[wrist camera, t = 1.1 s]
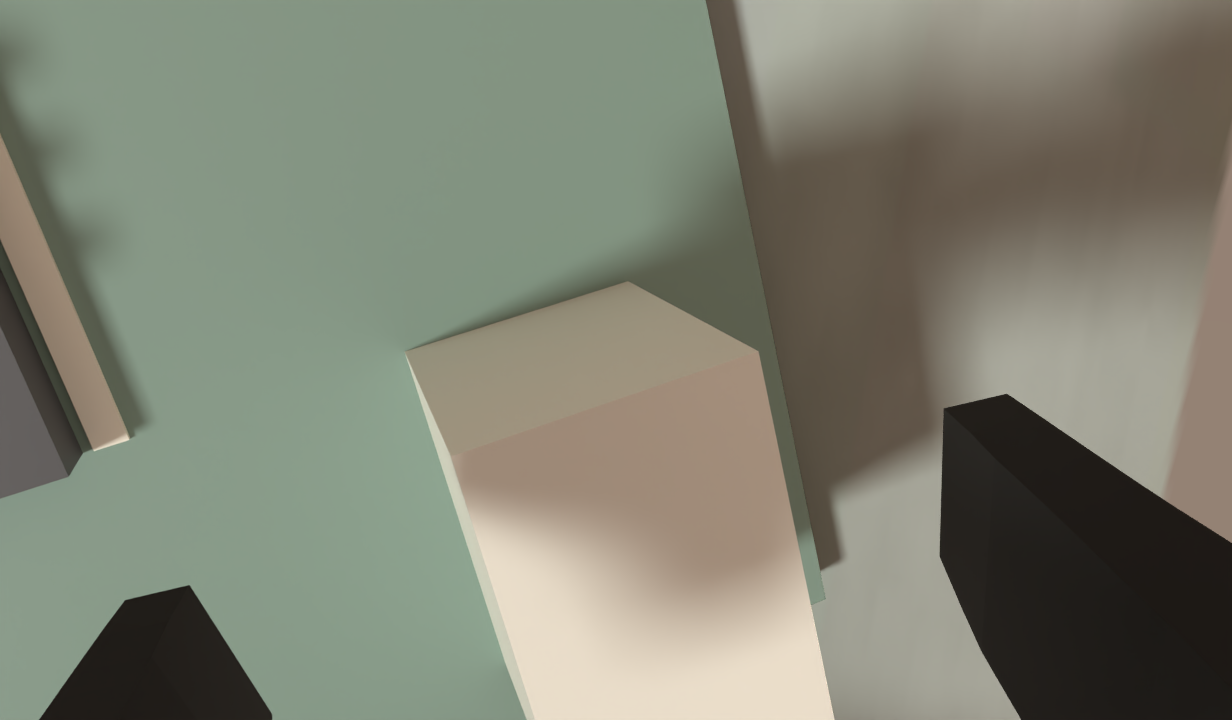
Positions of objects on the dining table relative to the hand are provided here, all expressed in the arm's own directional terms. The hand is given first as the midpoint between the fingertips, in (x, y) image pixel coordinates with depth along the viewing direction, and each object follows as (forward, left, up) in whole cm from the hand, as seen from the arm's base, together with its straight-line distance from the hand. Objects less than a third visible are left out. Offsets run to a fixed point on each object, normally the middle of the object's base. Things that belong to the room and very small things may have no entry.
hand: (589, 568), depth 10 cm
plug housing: (-4, -1, -10) cm, 11 cm away
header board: (0, +4, -11) cm, 12 cm away
